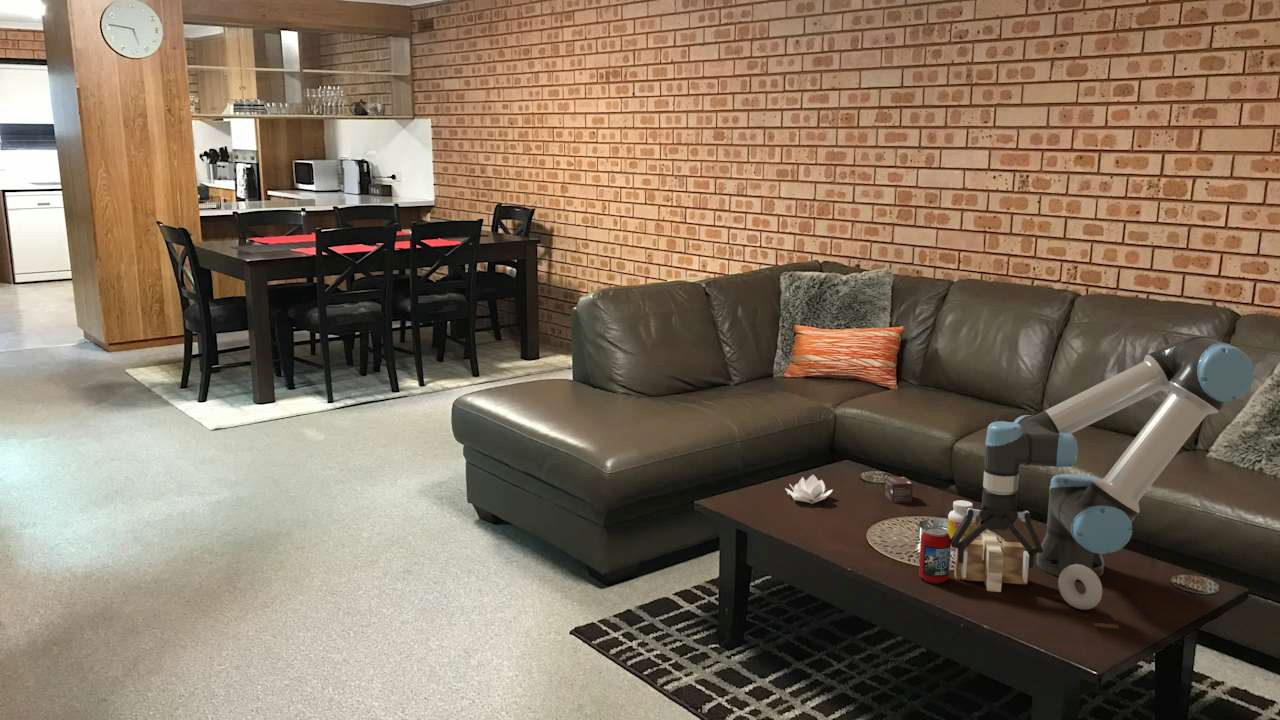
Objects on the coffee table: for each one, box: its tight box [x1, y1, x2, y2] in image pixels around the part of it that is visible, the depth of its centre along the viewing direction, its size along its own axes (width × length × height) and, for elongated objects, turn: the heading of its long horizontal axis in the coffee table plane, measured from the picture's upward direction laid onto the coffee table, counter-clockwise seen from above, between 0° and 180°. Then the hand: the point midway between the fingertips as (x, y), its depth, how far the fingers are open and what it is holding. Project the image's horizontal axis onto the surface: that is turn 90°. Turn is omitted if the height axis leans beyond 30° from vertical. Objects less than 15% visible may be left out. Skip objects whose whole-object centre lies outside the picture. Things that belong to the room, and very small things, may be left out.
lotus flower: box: [784, 474, 834, 505], centre depth 298 cm, size 14×15×9 cm
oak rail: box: [954, 539, 1028, 585], centre depth 246 cm, size 16×3×9 cm, turn 80°
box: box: [884, 476, 914, 504], centre depth 299 cm, size 6×6×7 cm
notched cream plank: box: [980, 532, 1004, 593], centre depth 246 cm, size 14×3×9 cm, turn 170°
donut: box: [1057, 564, 1103, 611], centre depth 230 cm, size 10×4×10 cm, turn 35°
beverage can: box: [918, 526, 951, 584], centre depth 245 cm, size 7×7×12 cm
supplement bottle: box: [946, 499, 977, 555], centre depth 263 cm, size 7×7×13 cm
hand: (993, 578), depth 242 cm, fingers open, 13 cm apart
